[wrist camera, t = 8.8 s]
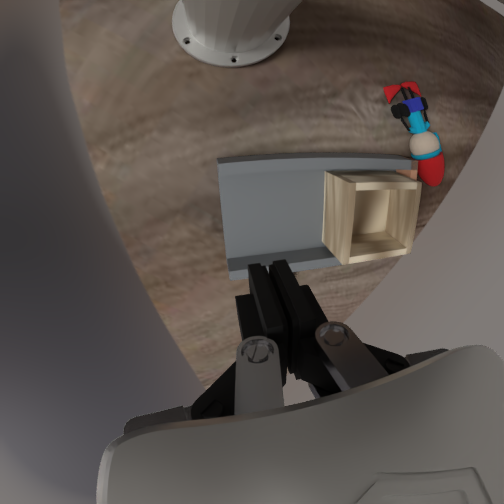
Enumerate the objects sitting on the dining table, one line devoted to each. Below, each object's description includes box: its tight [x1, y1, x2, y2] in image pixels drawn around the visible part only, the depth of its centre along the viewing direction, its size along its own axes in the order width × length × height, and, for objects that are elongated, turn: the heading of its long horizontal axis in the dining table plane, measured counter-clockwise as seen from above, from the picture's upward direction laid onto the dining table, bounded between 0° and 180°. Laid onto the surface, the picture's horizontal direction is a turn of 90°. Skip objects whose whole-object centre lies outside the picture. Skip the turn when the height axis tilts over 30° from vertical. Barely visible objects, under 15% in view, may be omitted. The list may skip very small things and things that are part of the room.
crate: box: [322, 170, 422, 265], centre depth 30 cm, size 10×9×6 cm
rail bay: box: [217, 153, 418, 281], centre depth 31 cm, size 24×13×4 cm, turn 93°
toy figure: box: [384, 82, 445, 186], centre depth 29 cm, size 8×5×15 cm
